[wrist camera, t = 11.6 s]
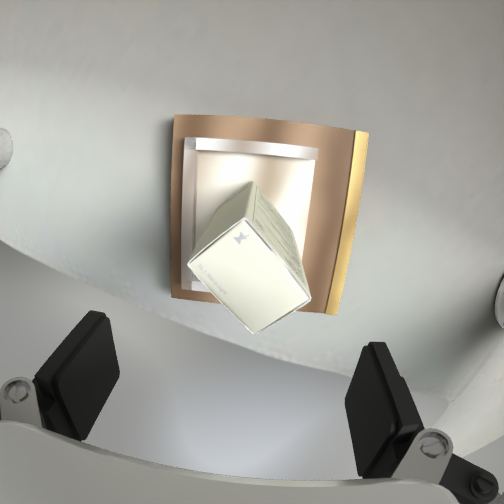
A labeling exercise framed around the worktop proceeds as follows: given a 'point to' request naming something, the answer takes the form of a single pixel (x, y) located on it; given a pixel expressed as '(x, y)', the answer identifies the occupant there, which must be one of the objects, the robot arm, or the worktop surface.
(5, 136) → the house plant
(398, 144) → the worktop surface
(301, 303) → the skincare box
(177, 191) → the dock
